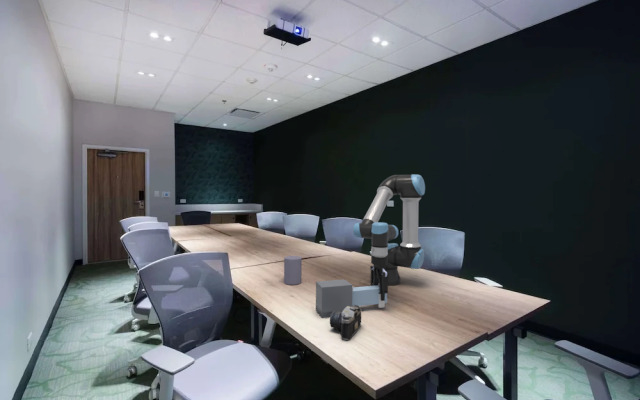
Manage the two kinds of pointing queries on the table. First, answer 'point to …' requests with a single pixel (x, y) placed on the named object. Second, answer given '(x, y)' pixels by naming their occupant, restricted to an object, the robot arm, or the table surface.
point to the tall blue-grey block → (366, 295)
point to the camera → (346, 321)
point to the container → (292, 270)
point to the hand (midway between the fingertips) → (378, 304)
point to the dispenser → (332, 296)
